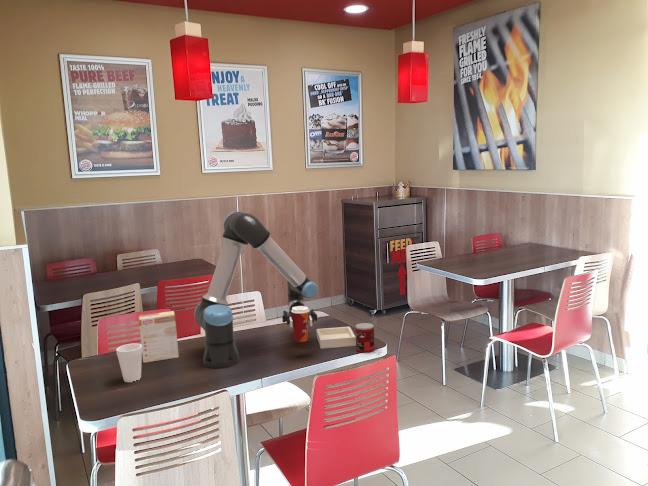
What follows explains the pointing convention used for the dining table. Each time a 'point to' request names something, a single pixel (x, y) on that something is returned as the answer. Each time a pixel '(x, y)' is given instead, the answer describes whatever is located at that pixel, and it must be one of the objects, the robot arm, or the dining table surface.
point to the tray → (335, 337)
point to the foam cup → (130, 361)
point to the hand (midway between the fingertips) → (301, 323)
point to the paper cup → (300, 323)
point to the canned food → (365, 337)
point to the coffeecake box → (158, 336)
